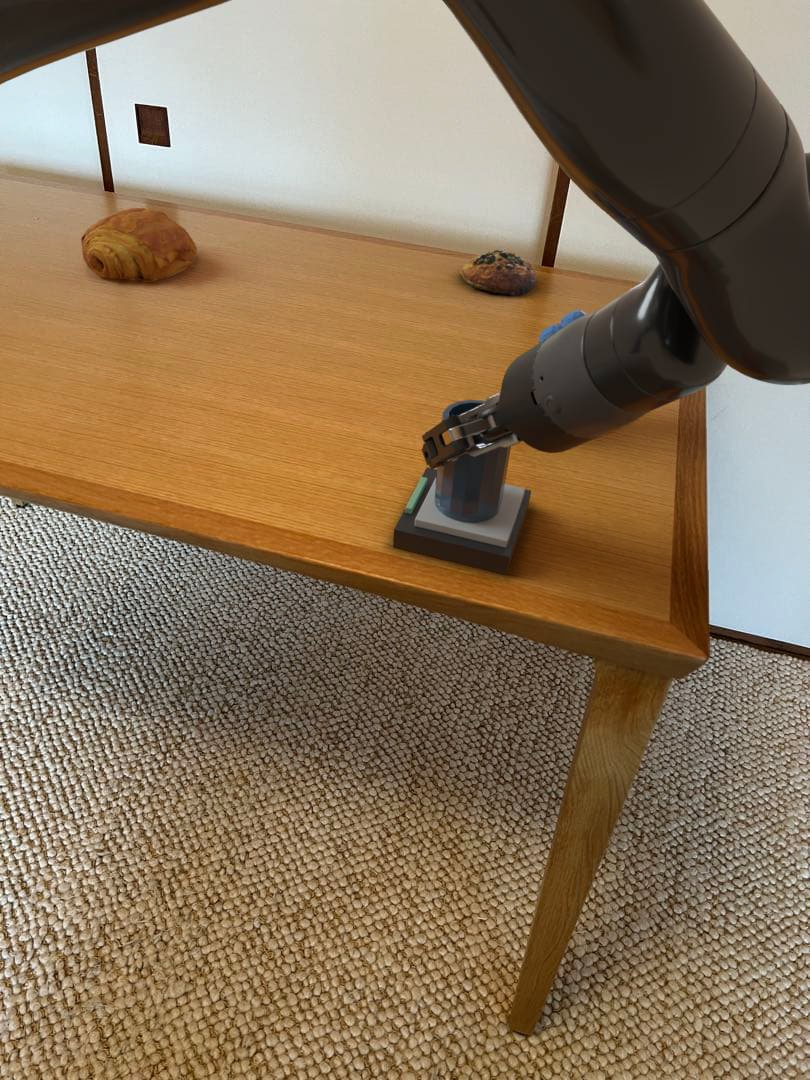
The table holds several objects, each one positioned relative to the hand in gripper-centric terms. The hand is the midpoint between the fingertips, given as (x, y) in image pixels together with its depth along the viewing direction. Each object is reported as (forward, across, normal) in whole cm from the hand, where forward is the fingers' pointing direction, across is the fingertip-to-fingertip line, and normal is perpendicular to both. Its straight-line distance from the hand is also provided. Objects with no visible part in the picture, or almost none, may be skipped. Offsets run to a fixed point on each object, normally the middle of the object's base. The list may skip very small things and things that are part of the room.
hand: (461, 446), depth 69 cm
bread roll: (+36, -38, -24) cm, 58 cm away
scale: (+4, 0, +6) cm, 8 cm away
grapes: (+13, -19, -2) cm, 23 cm away
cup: (+2, 0, +5) cm, 5 cm away
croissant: (+54, +5, -43) cm, 69 cm away
